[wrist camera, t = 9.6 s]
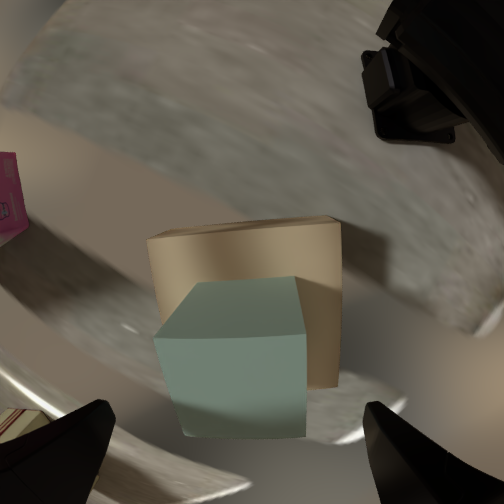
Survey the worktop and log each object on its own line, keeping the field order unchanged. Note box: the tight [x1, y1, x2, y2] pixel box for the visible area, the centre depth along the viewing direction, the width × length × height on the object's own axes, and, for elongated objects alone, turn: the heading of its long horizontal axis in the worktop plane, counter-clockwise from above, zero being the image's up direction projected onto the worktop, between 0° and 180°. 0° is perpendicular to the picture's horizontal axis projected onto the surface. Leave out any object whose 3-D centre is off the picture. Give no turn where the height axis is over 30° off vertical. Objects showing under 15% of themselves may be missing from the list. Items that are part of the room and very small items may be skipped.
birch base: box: [146, 215, 342, 390], centre depth 17 cm, size 10×10×4 cm
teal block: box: [153, 276, 307, 439], centre depth 12 cm, size 5×5×6 cm
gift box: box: [0, 408, 99, 492], centre depth 19 cm, size 17×18×17 cm
